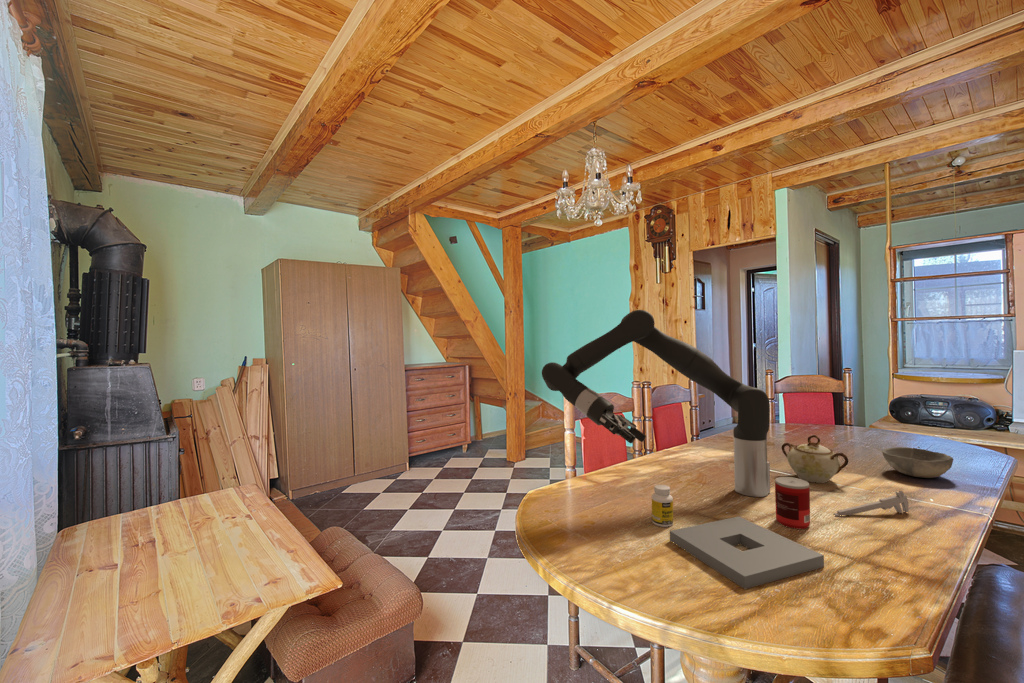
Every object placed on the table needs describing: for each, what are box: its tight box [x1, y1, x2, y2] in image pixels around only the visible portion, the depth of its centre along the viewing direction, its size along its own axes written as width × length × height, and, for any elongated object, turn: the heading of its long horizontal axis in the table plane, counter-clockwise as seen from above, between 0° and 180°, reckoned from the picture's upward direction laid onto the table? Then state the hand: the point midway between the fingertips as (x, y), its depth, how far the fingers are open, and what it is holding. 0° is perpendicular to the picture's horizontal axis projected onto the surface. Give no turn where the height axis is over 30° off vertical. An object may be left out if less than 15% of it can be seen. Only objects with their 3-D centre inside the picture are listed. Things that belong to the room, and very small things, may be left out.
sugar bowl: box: [781, 434, 849, 484], centre depth 148 cm, size 20×15×15 cm
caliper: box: [832, 490, 909, 517], centre depth 119 cm, size 20×1×6 cm, turn 92°
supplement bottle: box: [651, 484, 674, 528], centre depth 117 cm, size 5×5×10 cm
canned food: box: [774, 476, 811, 530], centre depth 115 cm, size 8×8×11 cm
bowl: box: [881, 446, 954, 479], centre depth 149 cm, size 18×18×8 cm
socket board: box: [669, 515, 825, 590], centre depth 100 cm, size 22×22×2 cm
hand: (639, 440), depth 121 cm, fingers open, 8 cm apart
